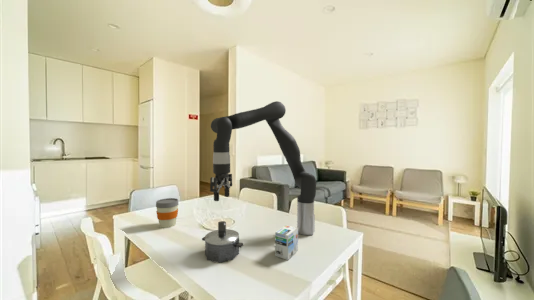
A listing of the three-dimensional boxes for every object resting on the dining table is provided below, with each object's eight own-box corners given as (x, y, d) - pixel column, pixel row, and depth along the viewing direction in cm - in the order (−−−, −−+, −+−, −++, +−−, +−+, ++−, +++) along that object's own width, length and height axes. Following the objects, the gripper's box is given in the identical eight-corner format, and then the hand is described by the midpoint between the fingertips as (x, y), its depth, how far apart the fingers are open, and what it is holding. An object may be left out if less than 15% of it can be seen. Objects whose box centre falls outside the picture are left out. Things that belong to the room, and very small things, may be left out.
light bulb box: (288, 260, 94) (288, 235, 94) (274, 256, 98) (274, 232, 98) (298, 250, 104) (298, 227, 103) (285, 246, 107) (285, 224, 107)
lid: (244, 236, 105) (244, 218, 105) (229, 251, 91) (229, 230, 91) (215, 232, 110) (215, 215, 109) (197, 246, 95) (197, 226, 95)
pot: (249, 250, 103) (249, 235, 103) (234, 266, 90) (233, 249, 90) (212, 243, 110) (212, 229, 110) (193, 257, 97) (193, 241, 97)
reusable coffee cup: (169, 220, 144) (168, 197, 143) (183, 223, 138) (183, 199, 138) (151, 227, 132) (150, 201, 132) (166, 230, 127) (165, 204, 126)
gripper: (220, 164, 91) (220, 203, 92) (236, 161, 104) (237, 195, 105) (204, 163, 94) (205, 201, 94) (223, 161, 107) (223, 194, 108)
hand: (222, 198), depth 100 cm, fingers open, 8 cm apart
